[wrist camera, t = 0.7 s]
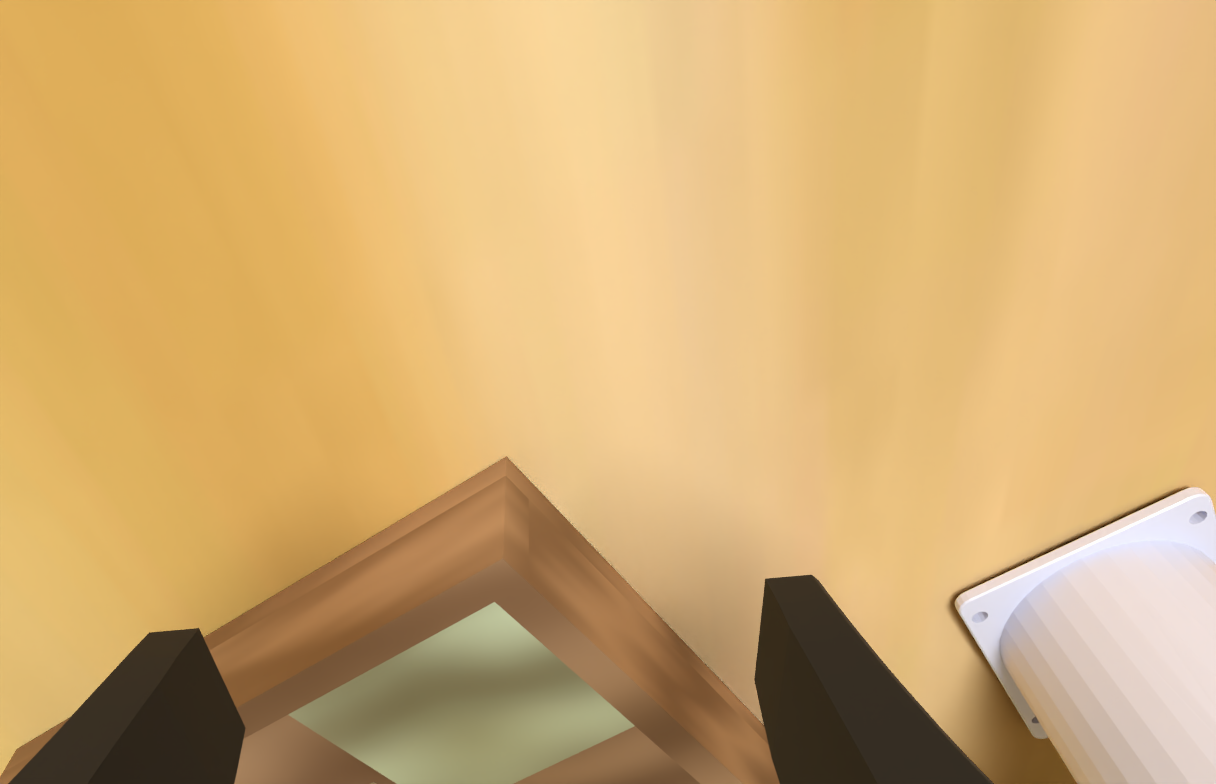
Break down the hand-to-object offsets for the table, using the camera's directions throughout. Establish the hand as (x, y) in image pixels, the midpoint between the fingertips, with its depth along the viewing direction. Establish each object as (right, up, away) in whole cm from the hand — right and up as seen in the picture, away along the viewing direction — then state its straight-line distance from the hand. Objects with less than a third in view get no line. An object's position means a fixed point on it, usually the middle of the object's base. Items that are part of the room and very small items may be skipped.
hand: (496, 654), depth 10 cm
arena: (-5, -9, +17) cm, 20 cm away
